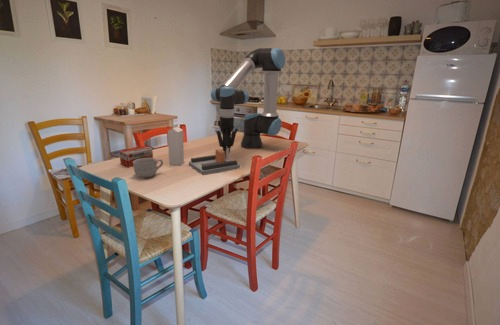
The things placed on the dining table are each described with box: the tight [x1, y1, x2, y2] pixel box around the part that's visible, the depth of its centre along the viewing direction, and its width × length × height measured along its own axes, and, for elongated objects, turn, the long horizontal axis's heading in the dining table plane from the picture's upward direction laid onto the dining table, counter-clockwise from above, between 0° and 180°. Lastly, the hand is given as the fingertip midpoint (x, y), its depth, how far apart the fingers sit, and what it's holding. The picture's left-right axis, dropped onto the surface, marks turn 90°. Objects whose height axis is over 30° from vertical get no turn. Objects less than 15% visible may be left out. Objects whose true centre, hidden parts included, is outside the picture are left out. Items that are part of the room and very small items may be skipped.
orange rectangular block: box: [215, 148, 225, 163], centre depth 156 cm, size 3×6×7 cm, turn 34°
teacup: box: [133, 157, 164, 179], centre depth 138 cm, size 14×11×8 cm
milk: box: [167, 123, 185, 167], centre depth 154 cm, size 6×6×22 cm
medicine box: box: [119, 145, 154, 168], centre depth 155 cm, size 15×8×8 cm, turn 140°
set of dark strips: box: [190, 154, 238, 170], centre depth 154 cm, size 20×16×2 cm
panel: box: [188, 158, 241, 176], centre depth 155 cm, size 22×18×2 cm
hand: (226, 158), depth 158 cm, fingers closed
